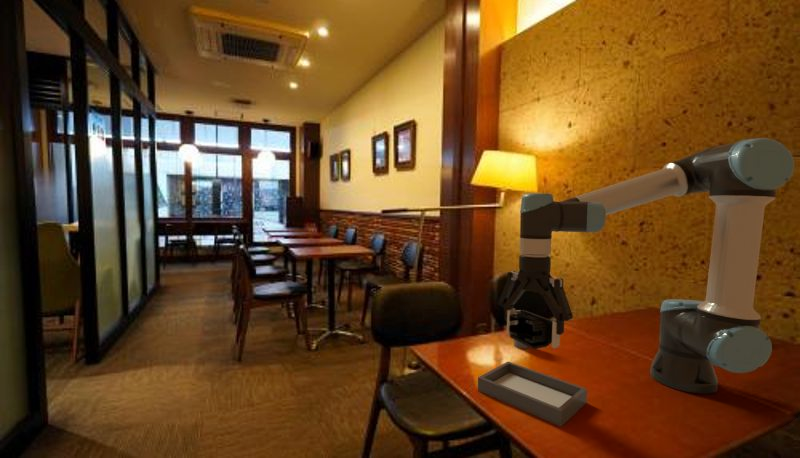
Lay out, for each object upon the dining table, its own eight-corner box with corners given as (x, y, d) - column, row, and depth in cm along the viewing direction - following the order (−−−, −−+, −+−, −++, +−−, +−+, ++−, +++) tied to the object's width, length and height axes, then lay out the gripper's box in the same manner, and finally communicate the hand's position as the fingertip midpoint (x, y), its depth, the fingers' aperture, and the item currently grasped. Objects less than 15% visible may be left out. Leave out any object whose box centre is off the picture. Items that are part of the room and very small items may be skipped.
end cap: (557, 345, 92) (558, 319, 91) (534, 350, 89) (535, 322, 88) (528, 332, 101) (529, 308, 100) (507, 336, 98) (508, 311, 98)
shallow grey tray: (586, 402, 93) (587, 388, 93) (560, 426, 82) (561, 411, 82) (507, 373, 109) (507, 361, 108) (477, 390, 98) (478, 377, 98)
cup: (528, 351, 125) (529, 316, 124) (508, 347, 129) (509, 313, 128) (533, 345, 131) (534, 311, 130) (514, 341, 135) (515, 308, 134)
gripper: (590, 258, 87) (586, 349, 89) (501, 249, 104) (499, 325, 106) (577, 261, 82) (574, 358, 83) (485, 251, 99) (484, 331, 101)
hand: (532, 339), depth 95 cm, fingers closed on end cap, 11 cm apart
